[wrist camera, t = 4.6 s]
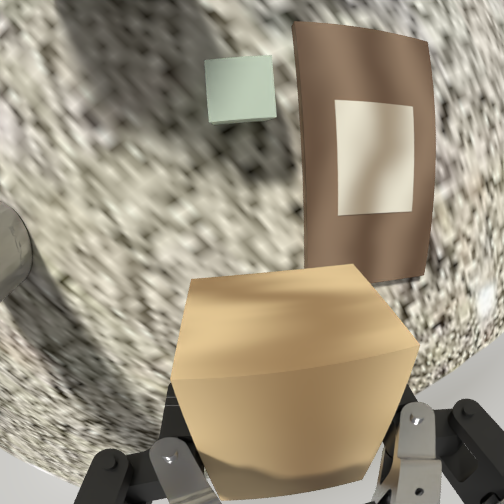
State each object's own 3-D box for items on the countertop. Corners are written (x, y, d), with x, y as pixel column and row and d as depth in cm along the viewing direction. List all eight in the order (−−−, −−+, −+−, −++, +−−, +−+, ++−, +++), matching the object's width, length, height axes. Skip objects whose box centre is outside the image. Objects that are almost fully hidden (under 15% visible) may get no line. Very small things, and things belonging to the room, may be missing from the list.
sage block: (213, 125, 21) (209, 122, 17) (209, 75, 20) (204, 60, 15) (267, 120, 21) (276, 117, 17) (263, 71, 20) (271, 55, 15)
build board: (304, 284, 27) (307, 291, 25) (291, 26, 18) (294, 20, 17) (417, 270, 27) (424, 275, 26) (420, 44, 19) (428, 41, 17)
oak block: (219, 416, 14) (220, 500, 9) (191, 279, 11) (170, 379, 6) (334, 401, 14) (362, 479, 9) (353, 263, 11) (419, 344, 6)
